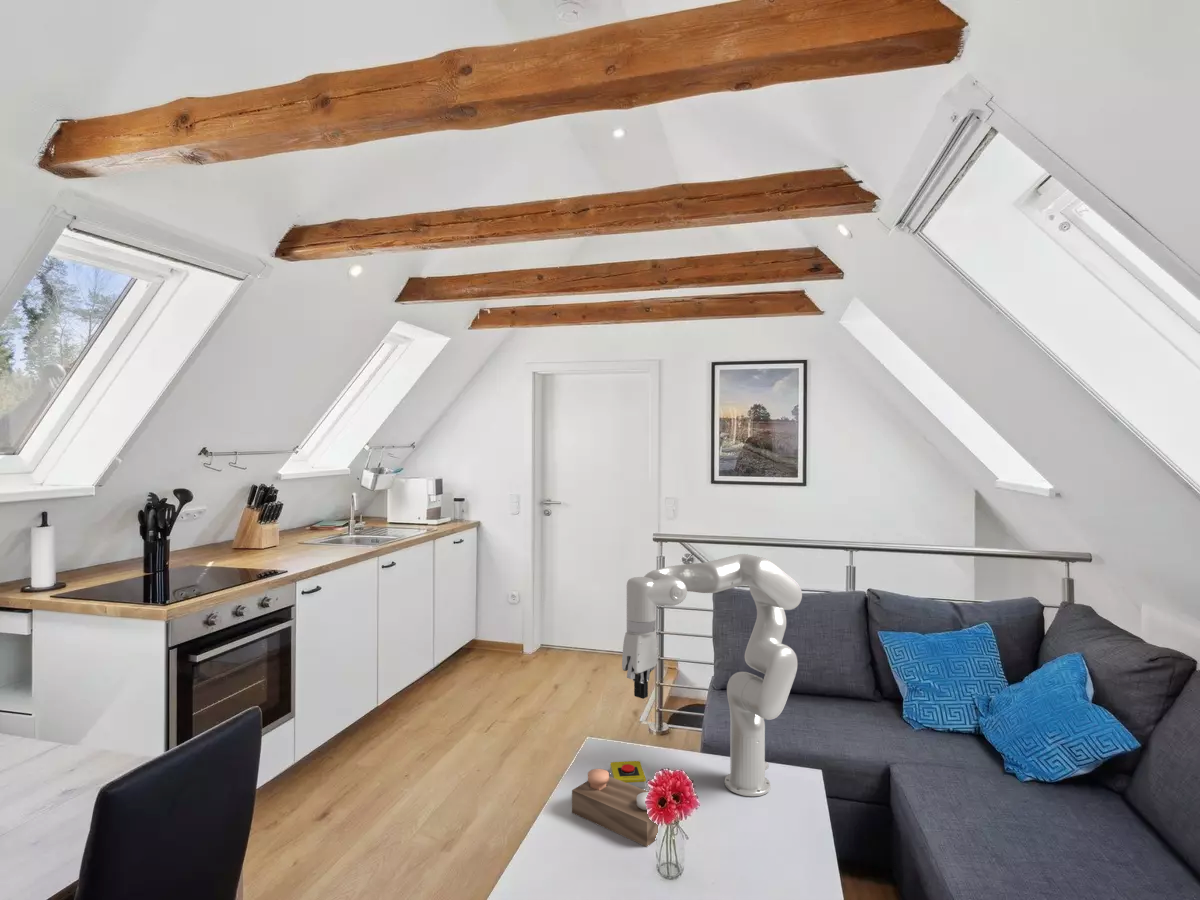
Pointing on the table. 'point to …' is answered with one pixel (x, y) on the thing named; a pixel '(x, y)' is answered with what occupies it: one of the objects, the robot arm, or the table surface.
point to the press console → (615, 810)
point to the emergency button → (629, 773)
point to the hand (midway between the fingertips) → (641, 696)
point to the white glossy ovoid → (642, 800)
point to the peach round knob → (598, 778)
